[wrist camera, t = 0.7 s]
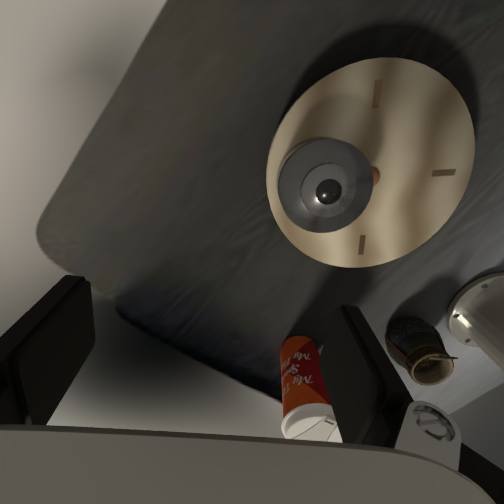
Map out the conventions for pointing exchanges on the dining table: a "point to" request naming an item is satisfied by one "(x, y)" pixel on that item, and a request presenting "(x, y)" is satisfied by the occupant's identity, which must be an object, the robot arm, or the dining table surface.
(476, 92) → the dining table surface
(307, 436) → the paper cup
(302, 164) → the cover
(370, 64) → the turntable
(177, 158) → the dining table surface
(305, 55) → the dining table surface
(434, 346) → the mate gourd
